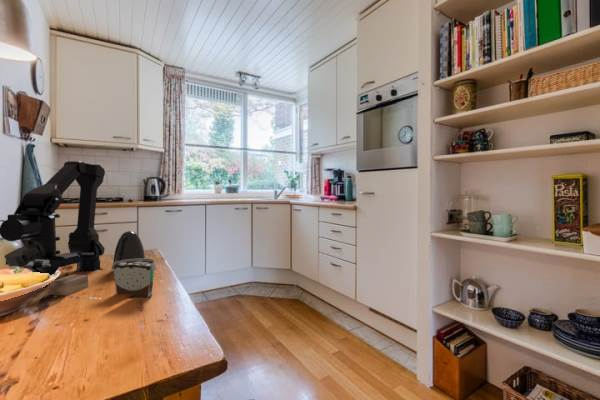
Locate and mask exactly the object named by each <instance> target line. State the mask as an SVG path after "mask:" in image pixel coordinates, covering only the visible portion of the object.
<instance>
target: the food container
mask: <svg viewBox="0 0 600 400" xmlns="http://www.w3.org/2000/svg"><path fill="white" fill-rule="evenodd" d="M157 267H158V266H157V264H156V262H155V260H154V259H152V258H137V259H127V260H121V261H117V262H113V261H112V265H111V268H110V269H111V271H113V277H114V285H115V294H116V295H130V296H128V297H126V299H133V300H134V299H135V300H150V299H151V298H152V296H153V285H154V275H155V271H156V270H157Z"/></svg>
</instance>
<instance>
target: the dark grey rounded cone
mask: <svg viewBox="0 0 600 400" xmlns="http://www.w3.org/2000/svg"><path fill="white" fill-rule="evenodd" d="M137 258H146V253H145V248H144V245H143V242H142V240H141V239H140V236H139V235H138V234H137V233H136V232H135V231H131V230H128V231H124V232H123V233H122V234H121V235H120V236H119V238H118V240H117V243H116V246H115V248H114V254H113V260H112V263H113V262H117V261H121V260H127V259H137Z"/></svg>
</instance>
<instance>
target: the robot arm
mask: <svg viewBox="0 0 600 400" xmlns="http://www.w3.org/2000/svg"><path fill="white" fill-rule="evenodd" d="M105 174H106V171H105V168H104V167H102V166H101V165H100V164H92V163H91V164H90V163H85V162H83V161H80V160H79V161H77V160H75V161H74V160H70V161H69V160H68V161H65V162H64V163H63V166H62V167H61V168H60V169H59V170H58V171H57V172H56V173H55V174H54V175H52V177H51V178H50V179H49V180H48V181H47V182H46V183H44V184H42V185H39V186H37V187H35V188H34V187H33V188H32V189H31V190H29V191H28V192H26V193H25V194H24V195H23V196H22V200H21V201H20V202H19V204H18V206H17V208H16V209H15V211H14V213H13V214H7V219H6V220H4V221H3V222H2V223H1V224H0V237H1V238H2V239H3V240H5V241H8V242H16V241H20V240H24V241H23V246H21V247H19V248H16V249H14V250H13V251H11V252H9V253H6V254H5V255H4V259H5V265H6V266H7V265H8V267H18V268H22V267H23V268H24V269H27V270H30V271H31V272H32V273H33V272H40V273H49V274H50V275H52V274H54V275H56V272H57V271H58V269H59V268H64V267H68V266H71V265H74V264H76V270H77V271H79V272H81V273H82V272H95V271H97V270H98V271H103V270H104V268H101V259H100V256H103V255H104V254H105V249H106V248H105V246H104V245H103V244H102V243H101V242H100V239H99V236H100V235H99V234H98V231H97V230H96V229H95V220H96V219H95V218H96V207H97V206H96V205H97V196H98V195H97V194H98V189H99V187H100V186H101V185H102V183H103V182H104V178H105V176H106V175H105ZM75 181H76V183H77V185H79V187H80V188H79V189H80V190H79V200H78V201H79V202H78V211H77V222H76V223H77V224H76V228H75V229H74V231H72V232H71V231H70V233H69V234H68V242H67V245H68V246H67V247H68V250H69V252H64V253H61V250H57V241H60V240H61V238H60V236H56V235H57V234H56V231H57V230H56V219H58V218H60V217H61V215H60V214H58V213H57V212H56V211H57V210H58V209H59V207H60V205H61V204H62V203H63V200H64V199H63V194H64V192H65V191H66V190H68V188H69V187H70V186H71V185H72V184H73V183H74V182H75ZM48 287H49V285H46V286H45V287H43V288H42V289H47V288H48Z"/></svg>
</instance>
